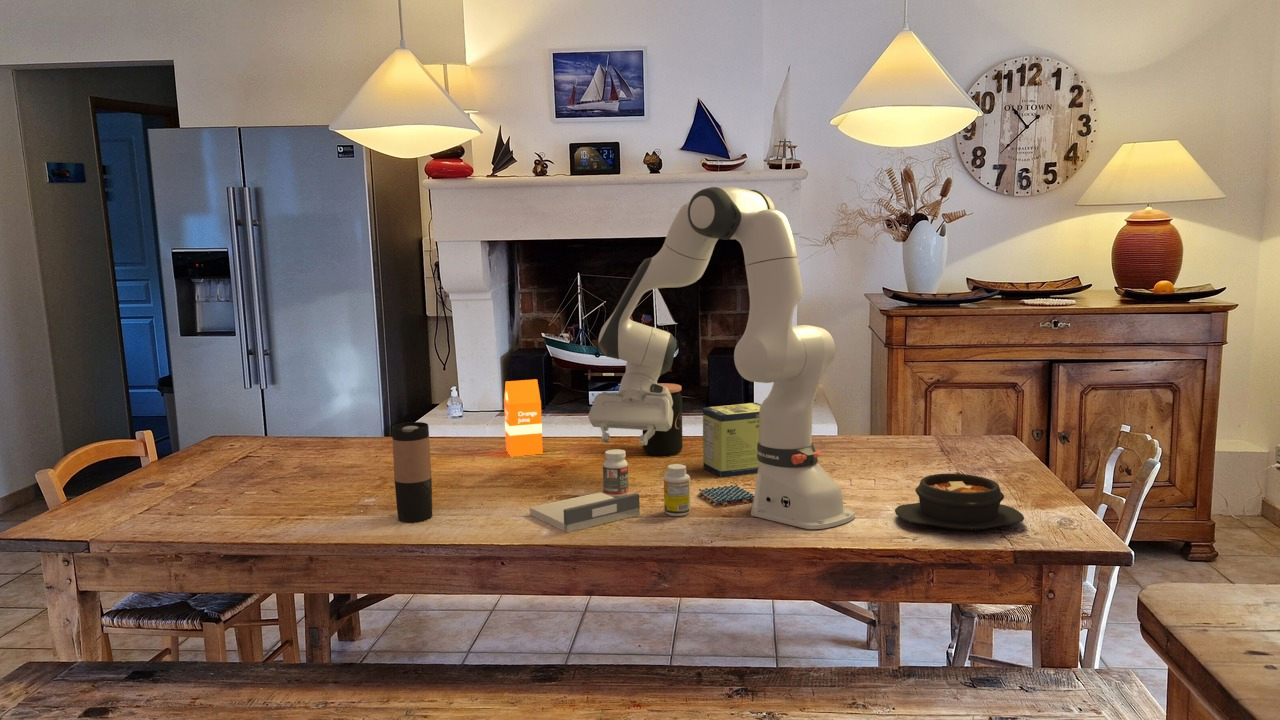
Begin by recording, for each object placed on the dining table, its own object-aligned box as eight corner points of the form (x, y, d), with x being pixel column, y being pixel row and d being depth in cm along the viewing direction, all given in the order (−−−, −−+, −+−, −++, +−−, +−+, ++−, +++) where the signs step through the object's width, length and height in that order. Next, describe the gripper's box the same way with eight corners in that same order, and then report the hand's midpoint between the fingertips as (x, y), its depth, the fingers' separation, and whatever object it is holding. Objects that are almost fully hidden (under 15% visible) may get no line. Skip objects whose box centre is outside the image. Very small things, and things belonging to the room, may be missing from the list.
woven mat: (716, 510, 201) (716, 501, 200) (696, 497, 210) (696, 488, 210) (759, 504, 204) (759, 495, 204) (737, 492, 214) (737, 483, 214)
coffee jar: (683, 457, 245) (682, 389, 242) (642, 457, 245) (641, 390, 243) (682, 447, 256) (681, 382, 253) (643, 447, 256) (642, 383, 253)
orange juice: (505, 451, 255) (502, 379, 252) (537, 448, 258) (534, 377, 255) (510, 457, 248) (507, 383, 245) (543, 454, 250) (540, 381, 247)
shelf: (640, 515, 197) (639, 494, 196) (567, 532, 186) (567, 511, 186) (600, 499, 209) (599, 479, 208) (530, 514, 198) (529, 494, 198)
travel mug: (418, 510, 203) (413, 420, 200) (441, 516, 198) (436, 424, 196) (389, 518, 197) (383, 426, 194) (411, 525, 193) (406, 431, 190)
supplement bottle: (670, 507, 201) (669, 462, 200) (694, 510, 199) (693, 464, 198) (660, 515, 196) (659, 468, 195) (684, 518, 194) (684, 470, 193)
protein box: (776, 470, 230) (777, 409, 228) (720, 478, 224) (720, 414, 222) (756, 461, 240) (756, 401, 237) (701, 467, 234) (701, 407, 232)
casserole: (907, 538, 180) (908, 496, 178) (885, 509, 198) (886, 471, 197) (1038, 537, 179) (1040, 495, 177) (1004, 508, 197) (1005, 469, 196)
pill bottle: (625, 498, 209) (624, 455, 208) (600, 497, 210) (599, 454, 209) (630, 491, 215) (629, 449, 213) (606, 490, 216) (605, 448, 214)
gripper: (593, 384, 225) (578, 432, 218) (673, 388, 219) (661, 437, 211) (600, 399, 230) (586, 446, 223) (679, 403, 224) (667, 452, 216)
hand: (623, 442), depth 217 cm, fingers open, 8 cm apart
